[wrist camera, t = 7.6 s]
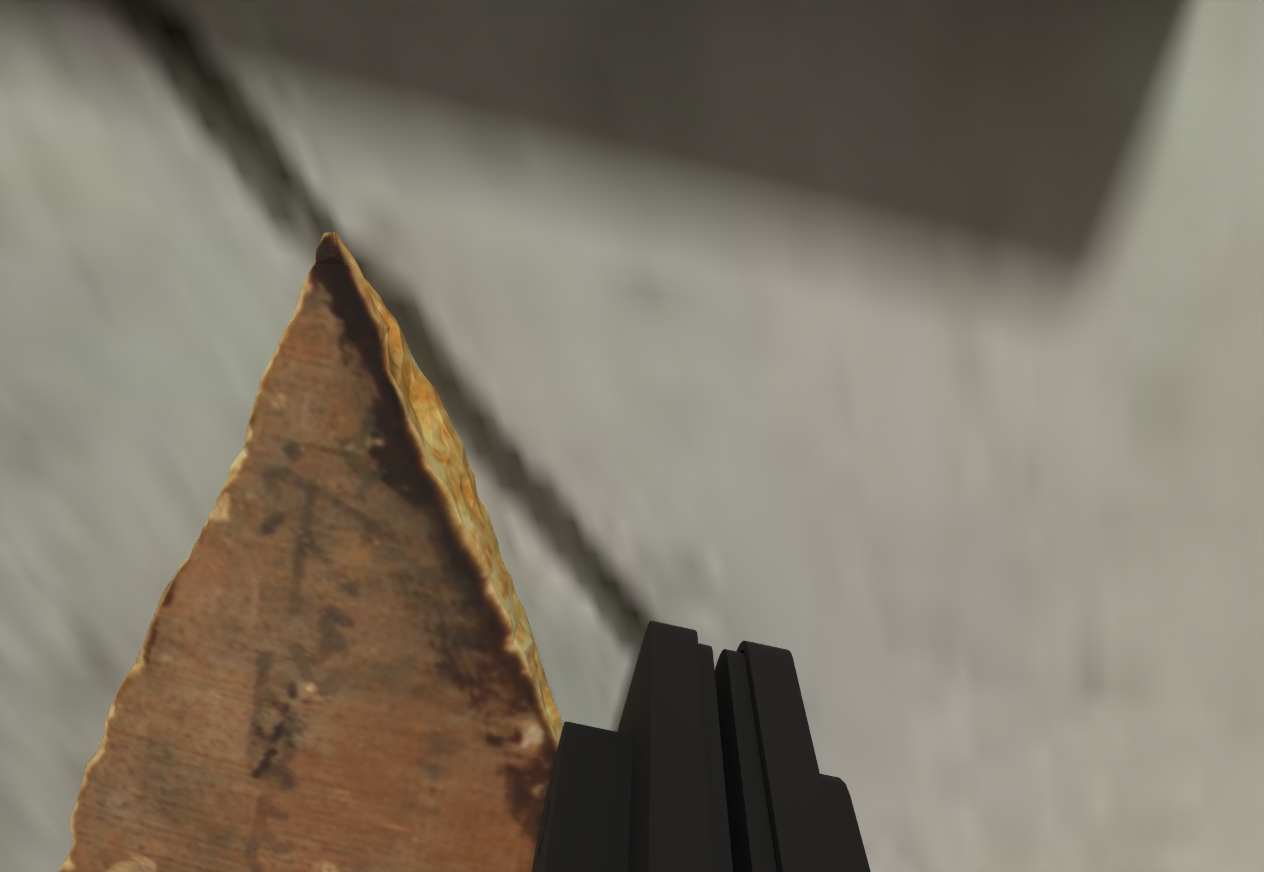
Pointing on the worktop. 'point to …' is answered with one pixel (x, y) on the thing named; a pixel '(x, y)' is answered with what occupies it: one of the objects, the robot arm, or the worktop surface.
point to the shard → (331, 641)
